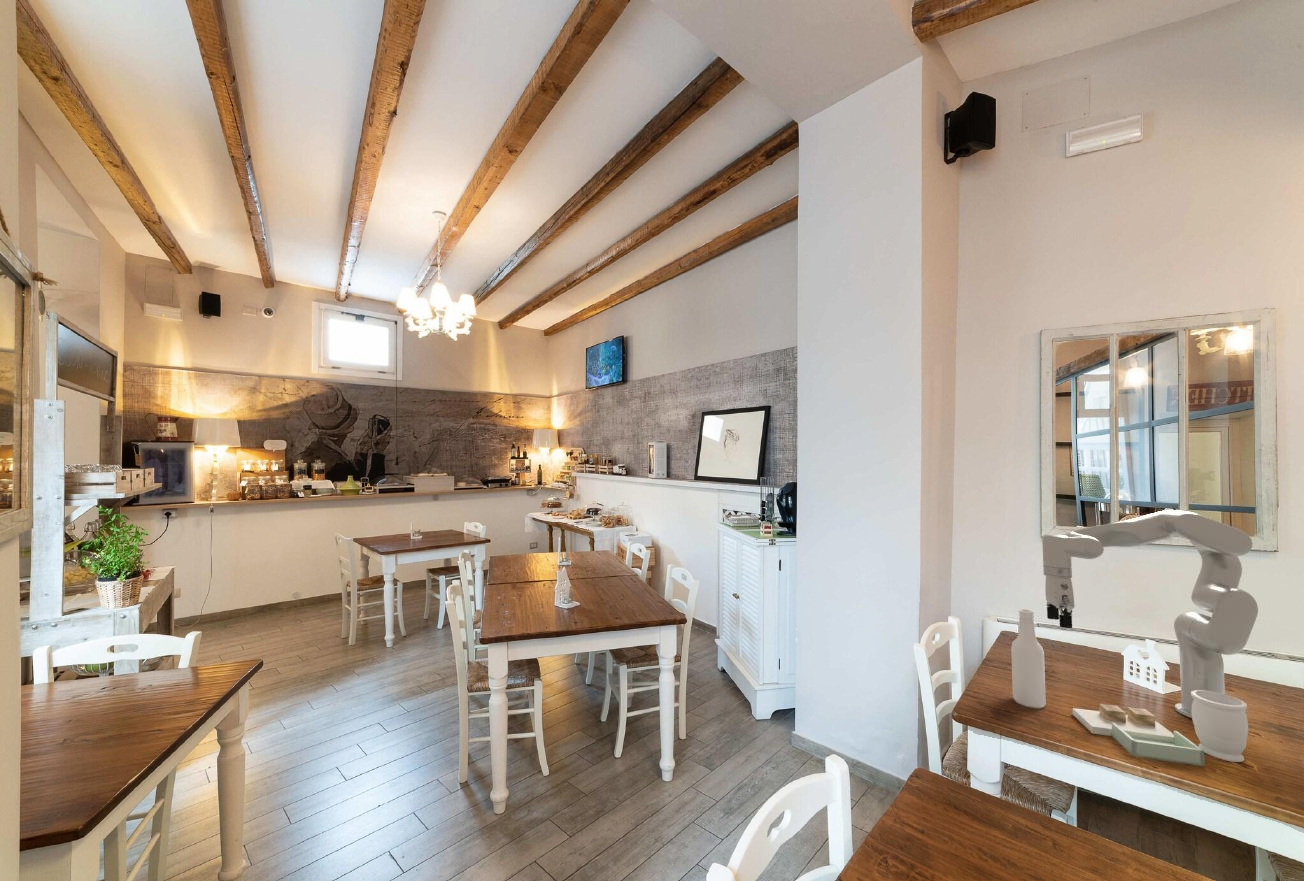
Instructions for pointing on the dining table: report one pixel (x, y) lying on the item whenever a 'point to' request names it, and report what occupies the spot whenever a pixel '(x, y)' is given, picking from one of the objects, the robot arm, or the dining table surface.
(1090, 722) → the board
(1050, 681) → the dining table surface
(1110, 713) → the tan block
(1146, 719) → the tan faceted block
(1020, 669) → the alcohol
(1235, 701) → the jar
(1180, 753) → the tray
